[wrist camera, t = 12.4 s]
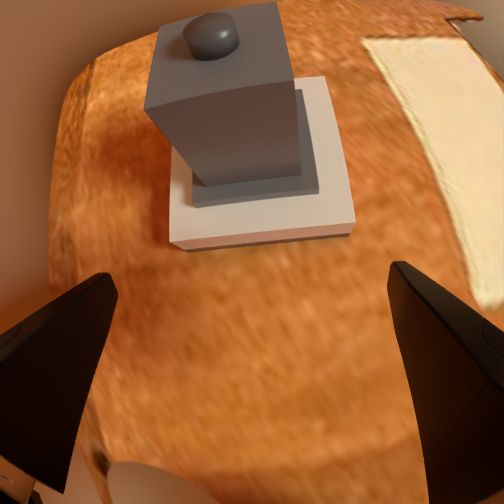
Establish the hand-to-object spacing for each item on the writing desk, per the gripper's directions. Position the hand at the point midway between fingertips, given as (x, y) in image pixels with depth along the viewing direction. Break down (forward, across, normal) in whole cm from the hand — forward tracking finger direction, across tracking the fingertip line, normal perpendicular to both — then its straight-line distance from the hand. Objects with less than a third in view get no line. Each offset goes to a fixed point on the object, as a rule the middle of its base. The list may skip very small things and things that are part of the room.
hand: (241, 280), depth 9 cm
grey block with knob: (+12, 0, 0) cm, 12 cm away
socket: (+12, 0, 0) cm, 12 cm away
